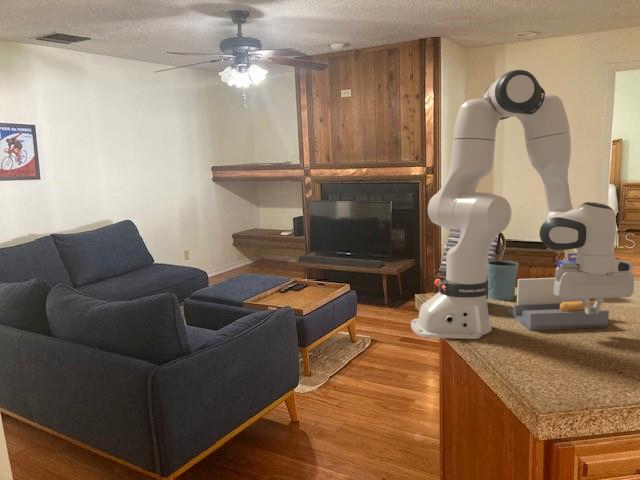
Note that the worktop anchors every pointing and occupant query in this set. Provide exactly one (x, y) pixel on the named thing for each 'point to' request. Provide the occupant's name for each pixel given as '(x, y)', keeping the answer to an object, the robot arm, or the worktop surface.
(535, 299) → the cover
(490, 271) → the teal cup
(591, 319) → the grooved grey base
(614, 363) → the worktop surface
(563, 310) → the orange capsule pill
